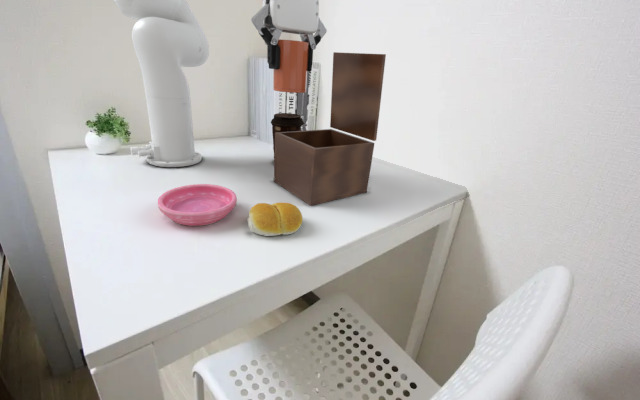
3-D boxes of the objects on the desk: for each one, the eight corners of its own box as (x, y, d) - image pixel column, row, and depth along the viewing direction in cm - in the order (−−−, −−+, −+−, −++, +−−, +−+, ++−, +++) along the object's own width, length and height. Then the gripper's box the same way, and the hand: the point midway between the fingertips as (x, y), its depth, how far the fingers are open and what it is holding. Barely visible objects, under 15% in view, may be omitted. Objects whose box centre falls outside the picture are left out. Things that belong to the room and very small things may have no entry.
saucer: (250, 217, 53) (250, 200, 52) (177, 239, 45) (175, 220, 44) (216, 194, 61) (215, 179, 60) (149, 209, 53) (146, 192, 52)
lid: (383, 54, 57) (401, 54, 60) (333, 52, 67) (350, 52, 70) (373, 141, 64) (390, 137, 67) (330, 127, 74) (346, 124, 77)
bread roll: (308, 234, 50) (310, 212, 48) (253, 241, 47) (252, 217, 45) (293, 212, 57) (294, 192, 55) (244, 216, 53) (243, 195, 52)
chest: (310, 205, 60) (315, 149, 55) (273, 181, 70) (274, 132, 66) (366, 192, 69) (374, 142, 64) (326, 172, 79) (331, 128, 75)
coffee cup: (304, 161, 87) (307, 114, 82) (299, 170, 80) (302, 119, 74) (273, 157, 88) (275, 111, 82) (266, 166, 80) (267, 115, 75)
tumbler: (284, 92, 58) (285, 39, 54) (267, 89, 63) (267, 39, 59) (312, 92, 62) (315, 43, 58) (294, 89, 67) (296, 43, 63)
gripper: (320, -26, 61) (314, 71, 68) (237, -50, 51) (241, 66, 58) (344, -33, 56) (336, 73, 63) (257, -61, 46) (259, 68, 53)
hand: (290, 69), depth 61 cm, fingers closed on tumbler, 6 cm apart
